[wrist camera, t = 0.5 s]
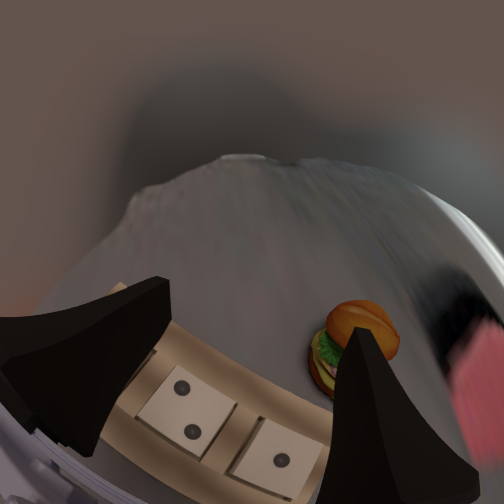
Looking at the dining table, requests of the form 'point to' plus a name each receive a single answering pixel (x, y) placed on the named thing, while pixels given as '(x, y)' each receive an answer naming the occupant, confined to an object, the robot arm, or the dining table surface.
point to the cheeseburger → (338, 333)
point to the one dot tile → (276, 459)
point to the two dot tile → (186, 410)
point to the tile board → (228, 435)
